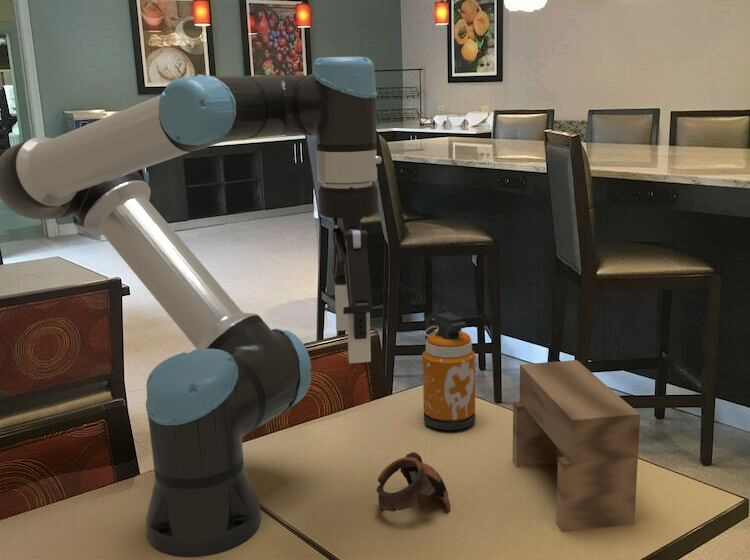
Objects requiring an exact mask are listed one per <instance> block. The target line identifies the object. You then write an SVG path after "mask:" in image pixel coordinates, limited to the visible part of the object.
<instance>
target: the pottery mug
mask: <svg viewBox="0 0 750 560" xmlns="http://www.w3.org/2000/svg"><path fill="white" fill-rule="evenodd" d="M399 470H400V473H401V474H402V475H403V477H404V479H405V480H406V482H407V484H408V486H407V487H405V488H403V489H401V490H399V491H395V492H388V491H385V490H384V488H385V484H386V483H387V481H388V480H389V479H390V478H391V477H392V476H393V475H394V474H395V473H396V472H398V471H399ZM377 482H378V483H379V484H378V486H377V487H376V493H377V494H378V495H377V496H378V498H377V499H378V507H379V508H380V509H381V510H382V511H384V510H385V511H388V512H391V513H392V512H393V513H394V512H396V511H404V510H405V509H408V508H413V509H416V510H418V509H420V506H419V503H418V502H419V501H418V494H420V495H422V496H423V495H429V496H430V497H435V498H440V499H442V502H443V504H444V505H445V510H446V512H447V513H449V512H450V511H451V502H450V498H449V493H448V490H447V488H446V484H445V483H444V480H443V479H442V477H441V475H440V474H439V473H438V472H437V471H436V469H435V468H434V467H432V466H431V465H429V464H427V463H424V462H423V458H422V457H421V455H419V453H417V452H415V451H411V452H410V453H407V454H406V455H405V457H401V458H399V459H396V460H395V461H392V462H391V463H389V464H387V466H386V467H385V468H384V469H383V470H382V471H381V473H380V474H379V476H378V478H377Z"/></svg>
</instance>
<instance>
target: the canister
mask: <svg viewBox="0 0 750 560" xmlns="http://www.w3.org/2000/svg"><path fill="white" fill-rule="evenodd" d="M424 321H425V322H424V323H425V327H426V330H425V331H424V332H423V334H424V335H425V336H426V340H425V350H424V351H423V352H422V387H423V388H422V389H423V391H422V393H423V400H422V401H423V421H424V422H425V424H426V425H428V426H430V427H433V428H436V429H439V430H444V431H455V430H461V429H465V428H468V427H470V426H471V425H473V424H475V421H476V353H475V351H474V350H473V341H472V338H471V336H470V335H469V334H468V333H467V332H464V331H462V329H465V328H466V322H465V321H463V317H461V316H458V315H456V314H454V313H451V312H449V310H448V308H447V307H446V308H445V309H443V310H442V311H441V312H439V313H438V312H437V310H436V309H435V310H433V311H432V312H430V313H429V314H428V315H427V316H426V317H425V318H424ZM431 321H433V324H429V323H430V322H431Z"/></svg>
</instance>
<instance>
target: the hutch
mask: <svg viewBox="0 0 750 560" xmlns="http://www.w3.org/2000/svg"><path fill="white" fill-rule="evenodd" d="M640 422H641V413H639V411H637V410H636V409H635V408H634V407H632V406H631V405H630V404H629V403H628V402H627V401H625V400H624V399H623V397H621V396H619V394H617V393H616V392H615V391H613V389H611V388H610V386H608V385H607V384H606V383H604V382H603V381H602V380H601V379H600V378H599V377H597V376H596V375H595V374H594V373H593V372H592V371H590V369H588V368H587V367H586V366H584V365H583V364H582V362H580V361H579V360H578V359H572V360H571V359H570V360H560V361H547V362H535V363H523V364H521V363H520V364H519V401H513V403H512V463H513V465H514V466H515V467H516V468H521V467H520V466H525V467H533V465H536V466H545V465H553V464H554V465H556V466H557V479H556V481H557V485H556V518H555V519H556V520H555V521H556V523H555V524H556V525H557V528H559V530H560V531H561V532H563V533H564V532H571V531H572V532H573V531H574V532H575V531H581V530H591V529H593V530H594V529H601V528H610V527H621V526H629V525H631V526H632V525H635V518H636V517H635V516H636V499H637V497H636V496H637V481H638V480H637V479H638V464H639V463H638V461H639V442H640V441H639V440H640V424H641V423H640Z"/></svg>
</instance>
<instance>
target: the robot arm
mask: <svg viewBox="0 0 750 560" xmlns="http://www.w3.org/2000/svg"><path fill="white" fill-rule="evenodd" d="M376 85H377V84H376V73H375V65H374V62H373V61H372V60H371V59H370V58H368V57H365V56H329V57H328V56H327V57H318V58H316V59H315V60H314V62H313V70H312V73H311V74H306V75H301V74H299V75H296V74H295V75H294V74H292V75H291V74H289V75H288V74H284V75H283V74H282V75H281V74H280V75H279V74H277V75H275V74H274V75H270V74H263V75H261V74H258V75H210V74H209V75H208V74H195V75H192V76H191V75H190V76H185V77H178V78H175V79H173V80H172V81H170V82H169V83H167V85H166V87H165V88H164V90H163V91H162V93H161V94H159V95H157V96H155V97H152V98H150V99H147V100H145V101H142V102H140V103H137V104H135V105H133V106H130V107H127V108H125V109H122V110H120V111H118V112H115V113H113V114H110V115H108V116H106V117H103V118H101V119H98V120H96V121H94V122H91V123H88V124H86V125H83V126H81V127H78V128H76V129H73V130H71V131H68V132H66V133H63V134H61V135H59V136H56V137H54V138H51V137H48V136H38V137H33V138H30V139H28V140H26V141H23V142H20V143H17V144H15V145H13V146H10V147H9V148H7V149H5V151H4V152H3V153H2V154H1V155H0V200H1V202H3V204H4V205H5V206H6V207H7V208H8V209H9V210H11V211H12V212H14V213H15V214H18V215H20V216H22V217H24V218H27V219H32V220H38V221H41V220H43V221H44V220H46V221H47V220H55V219H60V218H66V217H75V218H76V219H77V221H78V222H79V223H80V224H81V225H82V226H83V228H84V229H85V230H86V232H87V233H89V234H90V235H94V236H104V238H105V239H106V240H107V241H108V243H110V245H111V246H112V247H113V248H114V250H115V251H116V252H117V254H118V255H119V256H120V257H121V259H122V260H123V261H124V262H125V263H126V264H127V266H128V267H129V268H130V269H131V270H132V272H133V273H134V274H135V275H136V276H137V279H139V281H140V282H141V283H142V284H143V285H144V286H145V288H146V289H147V291H149V292H150V294H151V295H152V296H153V297H154V299H155V300H156V301H157V302H158V304H159V305H160V306H161V307H162V308H163V310H164V311H165V312H166V313H167V315H168V316H169V317H170V319H172V320H173V322H174V323H175V324H176V325H177V327H178V329H180V330H181V332H182V333H183V334H184V335H185V337H186V338H187V339H188V340H189V342H190V343H191V344H192V345H193V347H195V349H193V350H191V351H190V352H185V351H184V352H181V353H178V354H174V355H173V356H170V357H168V358H167V359H165V360H163V361H161V362H160V363H159V364H157V365H156V366H155V367H154V368H153V369H152V370H151V372H150V373H149V375H148V377H147V379H146V385H145V386H146V401H145V408H146V409H145V410H146V414H147V419H148V420H147V421H148V427H149V435H150V444H151V451H152V461H153V462H152V463H153V470H154V485H153V488H152V492H151V497H150V500H149V506H148V508H147V513H146V518H145V519H146V520H145V525H146V534H147V540H148V542H149V543H150V545H151V547H153V548H155V549H156V550H158V551H160V552H161V553H163V554H166V555H170V556H177V557H186V558H187V557H188V558H189V557H190V558H191V557H192V558H195V557H196V558H197V557H205V556H206V557H207V556H212V555H215V554H220V553H222V552H226V551H229V550H231V549H233V548H236V547H238V546H240V545H242V544H243V543H245V542H246V541H247V540H249V539H251V537H252V536H254V535H255V533H256V532H257V531H258V529H260V528H259V527H260V525H261V522H262V513H261V504H260V501H259V500H260V499H259V497H258V495H257V493H256V491H255V488H254V487H253V484H252V482H251V480H250V477H249V475H248V473H247V471H246V468H245V465H244V464H245V463H244V450H243V437H245V436H246V435H248V434H249V433H251V432H253V431H255V430H257V428H260V427H261V426H263V425H264V424H266V423H267V422H268V423H269V421H271V420H273V419H275V418H276V417H278V416H279V415H282V414H286V413H288V411H290V409H292V407H293V406H295V405H296V404H298V403H299V402H300V401H301V400H302V399H303V398H304V397H305V396H306V394H307V392H308V391H309V388H310V385H311V382H312V373H311V371H312V370H311V369H312V363H311V357H310V355H309V353H308V352H309V351H308V350H307V347H306V346H305V345H304V343H303V341H302V340H301V339H300V338H299V337H298V336H297V335H296V334H294V333H293V332H291V331H289V330H287V329H285V330H284V329H281V328H273V329H271V328H270V327H269V325H268V324H267V323H266V321H264V319H262V317H261V316H260V315H259V314H258V313H251V312H244V311H242V309H240V307H239V306H238V305H237V304H236V303H235V302H234V300H233V299H232V298H231V297H230V296H229V294H228V293H227V292H226V291H225V289H224V288H223V287H222V286H221V285H220V284H219V283H218V281H217V280H216V279H215V277H214V276H213V275H212V274H211V273H210V272H209V271H208V270H207V268H206V267H205V266H204V265H203V263H202V262H201V261H200V260H199V259H198V258H197V256H196V255H195V254H194V253H193V251H192V250H191V249H190V248H189V247H188V245H187V244H186V243H185V242H184V240H182V239H181V238H180V236H179V235H178V234H177V232H175V231H174V229H173V228H172V226H171V225H169V223H168V222H167V221H166V220H165V219H164V217H163V216H162V215H161V214H160V213H159V211H158V209H156V208H155V206H154V205H153V204H152V203H151V202H150V197H151V194H152V193H151V190H152V189H151V187H150V185H149V179H150V177H149V171H146V168H148V167H151V166H154V165H158V164H160V163H163V162H166V161H169V160H171V159H175V158H177V157H180V156H183V155H186V154H188V153H192V152H196V151H200V150H203V149H205V148H209V147H212V146H215V145H217V144H222V143H226V142H231V141H238V140H248V139H249V140H250V139H258V138H267V137H277V136H315V138H316V139H315V140H316V151H315V153H316V174H317V175H316V177H317V181H318V182H319V183H321V184H322V185H320V186H319V188H318V191H317V192H318V213H319V214H320V215H321V217H324V218H327V219H332V221H333V228H332V231H331V233H332V240H333V243H332V244H333V245H332V246H333V249H332V250H333V253H332V254H333V256H332V269H331V271H332V272H331V273H332V275H333V281H334V301H335V302H334V304H335V307H334V308H335V330H336V332H340V331H341V332H342V331H347V349H348V351H347V352H348V355H347V356H348V363H349V364H360V363H370V362H372V356H371V355H372V352H371V351H372V350H371V349H372V348H371V347H372V345H371V313H370V312H373V311H374V310H373V309H374V304H373V297H372V288H371V287H372V286H371V277H370V268H369V267H370V265H369V255H368V254H369V253H368V252H369V251H368V232H367V230H366V229H364V226H362V222H361V220H362V219H363V218H369V217H373V216H375V215H376V214H377V213H378V212H379V188H378V187H377V185H376V184H374V183H373V182H376V181H377V179H378V167H377V164H382V160H383V159H382V157H381V156H380V155H377V153H378V152H377V97H378V92H377V86H376Z"/></svg>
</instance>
